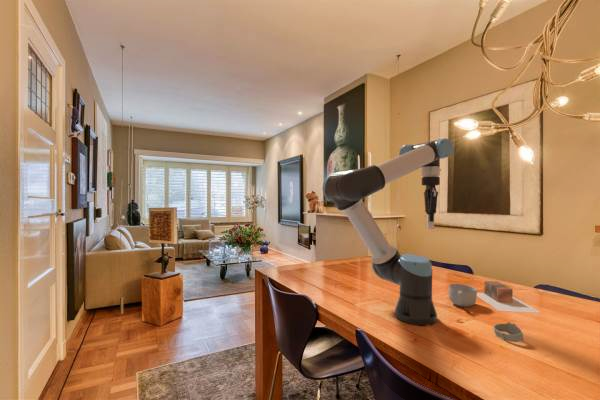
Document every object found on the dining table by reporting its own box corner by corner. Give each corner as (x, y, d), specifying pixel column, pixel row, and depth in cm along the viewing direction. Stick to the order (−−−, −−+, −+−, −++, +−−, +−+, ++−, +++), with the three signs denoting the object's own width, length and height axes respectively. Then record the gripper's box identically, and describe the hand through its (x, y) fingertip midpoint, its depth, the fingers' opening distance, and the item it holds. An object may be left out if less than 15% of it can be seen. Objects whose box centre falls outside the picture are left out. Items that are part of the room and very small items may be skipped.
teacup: (453, 299, 138) (453, 281, 138) (480, 305, 131) (480, 286, 130) (442, 306, 128) (442, 287, 128) (470, 313, 121) (470, 293, 121)
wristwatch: (528, 343, 96) (528, 328, 96) (512, 346, 94) (512, 330, 94) (503, 331, 105) (503, 317, 105) (488, 333, 103) (488, 318, 103)
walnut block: (512, 289, 132) (498, 281, 144) (497, 288, 132) (484, 281, 144) (512, 302, 132) (497, 294, 144) (497, 302, 132) (484, 293, 144)
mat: (542, 314, 120) (542, 312, 120) (498, 312, 122) (498, 310, 122) (508, 295, 144) (508, 293, 144) (472, 293, 146) (472, 292, 146)
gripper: (444, 175, 130) (444, 230, 130) (434, 177, 143) (434, 227, 143) (426, 175, 131) (426, 230, 131) (418, 177, 144) (418, 227, 144)
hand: (430, 228), depth 137 cm, fingers closed
